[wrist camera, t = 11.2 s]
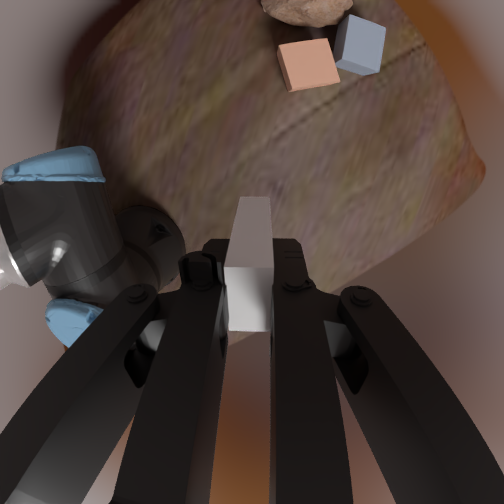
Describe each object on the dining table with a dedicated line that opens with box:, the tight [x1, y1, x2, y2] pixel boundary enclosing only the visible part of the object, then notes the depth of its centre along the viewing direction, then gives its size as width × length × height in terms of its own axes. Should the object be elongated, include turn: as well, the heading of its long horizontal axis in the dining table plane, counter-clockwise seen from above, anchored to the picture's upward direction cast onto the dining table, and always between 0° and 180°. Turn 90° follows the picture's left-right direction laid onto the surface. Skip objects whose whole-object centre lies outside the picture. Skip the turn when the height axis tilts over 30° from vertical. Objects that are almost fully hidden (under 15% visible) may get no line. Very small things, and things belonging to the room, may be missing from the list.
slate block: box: [333, 14, 386, 76], centre depth 26 cm, size 5×7×6 cm
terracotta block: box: [277, 38, 340, 92], centre depth 29 cm, size 6×6×6 cm
